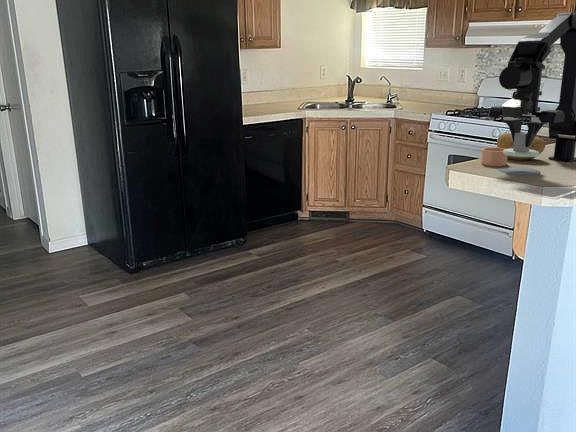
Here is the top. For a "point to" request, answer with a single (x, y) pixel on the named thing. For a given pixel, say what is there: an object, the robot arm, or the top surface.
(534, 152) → the lid
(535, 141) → the potato
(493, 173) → the top surface
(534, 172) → the mat
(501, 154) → the cup
